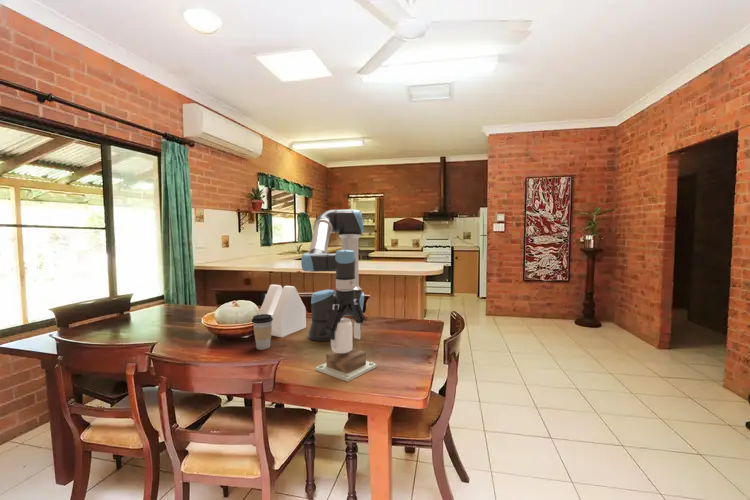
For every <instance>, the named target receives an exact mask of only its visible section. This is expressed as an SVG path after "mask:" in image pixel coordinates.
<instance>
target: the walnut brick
mask: <svg viewBox="0 0 750 500" xmlns="http://www.w3.org/2000/svg"><path fill="white" fill-rule="evenodd" d="M325 361H326V362H325V363H327V367H329V368H332V369H335V370H338V371H341V372H344V373H347V374H348V373H350V372H352V371H354V370H356V369H358V368H360V367H362V366H364V365H366V361H367V352H366V351H363V350H360V349H356V348H352V350H351V351H349V352H347V353H336V352H334V351H330V352H329V353H328V352H327V353H326V359H325Z"/></svg>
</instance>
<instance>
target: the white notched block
mask: <svg viewBox="0 0 750 500" xmlns="http://www.w3.org/2000/svg"><path fill="white" fill-rule="evenodd" d="M306 310H307V308H306V306H305V304H304V303H303V301H302V298H301V296H300V295H299V292H298V290H297V288H296V286H292V285H285V286H283V287H282V285H281V284H270V285H269V287H268V289H267V293H266V295H265V297H264V299H263V302H262V304H261V306H260V309H259V312H258V315H259V314H269V315H271V317H272V318H273V320H272V331H271V337H272V336H274V337H278V338H284V337H287V336H289V335H291V334H293V333H294V334H295V333H296V332H298V331H302V330H303V329H305V328H307V316H306V315H307V313H306V312H307V311H306Z"/></svg>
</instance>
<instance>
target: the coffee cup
mask: <svg viewBox="0 0 750 500" xmlns="http://www.w3.org/2000/svg"><path fill="white" fill-rule="evenodd" d="M272 320H273V318H272V317H271V315H269V314H260V315H259V314H256V315H254V316H253V317H252V319H251V323H252V325H253V335H254V339H255V340H254V341H255V347H256V350H260V351H263V350H267V349H269V348H271V338H272V335H271V331H272Z"/></svg>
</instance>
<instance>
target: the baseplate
mask: <svg viewBox="0 0 750 500" xmlns="http://www.w3.org/2000/svg"><path fill="white" fill-rule="evenodd" d="M375 368H377V363H375V362H373V361H368V360H366V365H364V366H362V367H360V368H358V369H356V370H354V371H352V372H350V373H348V374H347V373H344V372H341V371H338V370H335V369H332V368H329V367H327V363H326V362H325V363H322V364H318V365H317V366H315V371H316V372H320V373H322V374H325V375H328V376H331V377H334V378H337V379H339V380H342V381H344V382H347V383H348V382H350V381H352V380H354V379H356V378H357V377H360V376H361V375H363V374H366V373H367V372H369V371H371V370H373V369H375Z"/></svg>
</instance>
